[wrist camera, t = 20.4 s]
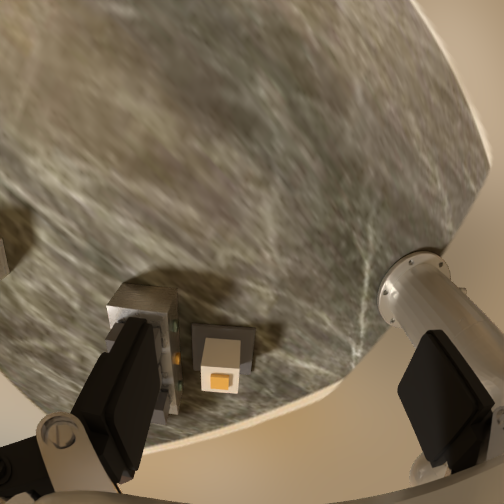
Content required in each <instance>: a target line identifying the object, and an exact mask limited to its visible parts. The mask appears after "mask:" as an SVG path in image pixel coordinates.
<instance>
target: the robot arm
mask: <svg viewBox="0 0 504 504" xmlns="http://www.w3.org/2000/svg"><path fill="white" fill-rule="evenodd" d="M466 293H467V290H466V288H458V287H457V286H456V285H455V284H454V283H453V282H451V278H450V271H449V268H448V266H447V264H446V262H445V261H444V260H443V259H442V258H441V257H439V256H438V255H437V254H435V253H432V252H428V251H420V252H415V253H412V254H409V255H407V256H405V257H403V258H402V259H400V260H399V261H398V262H396V263H395V264H394V265H393V266H392V267H391V268H390V269H389V271H388V272H387V274H386V275H385V276H384V278H383V280H382V282H381V284H380V287H379V290H378V296H377V305H378V309H379V312H380V314H381V315H382V317H383V318H384V320H385V321H386V322H387V323H388V324H390V325H392V326H394V327H397V328H403V330H404V331H405V333H406V335H407V336H408V337H409V339H410V341H411V342H412V344H413V345H414V347H415V348H416V351H415V353H414V355H413V357H412V359H411V361H410V363H409V365H408V368H407V369H406V372H405V373H404V375H403V378H402V379H401V381H400V383H399V385H398V395H399V397H400V399H401V402H402V404H403V406H404V409H405V411H406V413H407V415H408V418H409V420H410V422H411V424H412V427H413V429H414V431H415V434H416V436H417V438H418V441H419V443H420V446H421V448H422V451H423V453H421V455H419V457H418V458H417V459H416V460H415V461H414V463H413V465H412V467H411V470H410V476H409V479H410V486H411V488H407V489H403V490H399V491H395V492H391V493H387V494H382V495H378V496H373V497H368V498H362V499H357V500H350V501H344V502H337V503H329V504H504V333H503V332H502V331H501V330H500V329H499V328H498V327H497V326H496V325H495V324H494V323H493V322H492V321H491V320H490V319H489V318H488V317H487V316H486V315H485V313H484V312H483V311H482V310H481V309H479V308H478V306H477V305H476V304H474V302H473V301H471V300H470V298H469V297H467V296H466ZM159 391H160V377H159V370H158V363H157V356H156V349H155V341H154V332H153V326H152V324H149V323H148V322H147V320H146V319H145V318H137V317H128V319H127V320H126V322H125V324H124V326H123V328H122V329H121V331H120V333H119V335H118V337H117V339H116V340H115V342H114V344H113V346H112V348H111V350H110V352H109V353H106V352H104V353H102V354H101V355H100V357H99V358H98V360H97V362H96V364H95V366H94V368H93V370H92V372H91V373H90V375H89V377H88V379H87V381H86V383H85V385H84V387H83V389H82V391H81V393H80V395H79V397H78V399H77V401H76V403H75V405H74V407H73V409H72V411H71V413H68V412H54V413H51V414H49V415H46V416H45V417H44V418H43V419H42V420H41V421H40V423H39V424H38V426H37V429H36V436H33V437H30V438H27V439H24V440H21V441H18V442H15V443H12V444H9V445H6V446H3V447H0V504H187V503H179V502H172V501H165V500H158V499H153V498H146V497H139V496H133V495H128V494H123V493H122V492H121V490H120V488H119V487H118V485H117V483H119V482H120V480H121V476H126V477H131V475H132V471H133V470H135V471H137V470H138V468H139V464H140V461H141V457H142V453H143V449H144V445H145V442H146V438H147V434H148V430H149V427H150V423H151V419H152V416H153V412H154V408H155V405H156V401H157V398H158V394H159Z"/></svg>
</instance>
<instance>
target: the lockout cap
mask: <svg viewBox="0 0 504 504" xmlns="http://www.w3.org/2000/svg"><path fill="white" fill-rule="evenodd" d="M240 343H241V340H229V339H216V338H206V340H205V345H204V351H203V356H202V362H201V386H202V391H211V392H223V393H238V382H239V370H240Z"/></svg>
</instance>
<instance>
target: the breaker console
mask: <svg viewBox="0 0 504 504" xmlns="http://www.w3.org/2000/svg"><path fill="white" fill-rule="evenodd" d="M107 311H108V317H109V322H110V327H111V329H112V327H113V325H114V324H115V322H116V323H122V324H125V322H126V320H127V319H128V317H137V318H145V319H146V320H147V322H148V323H149V324H152V326H153V328H160V334H161V344H162V353H161V356H160V359H159V362H158V363H160V367H161V374H162V381H163V382H162V385H161V389H160V392H167V393H168V397H169V403H170V410H169V414H176V415H178V412H179V407H180V403H181V398H182V393H183V389H184V388H183V377H182V365H181V352H180V337H179V319H178V297H177V288H167V287H156V286H147V285H137V284H128V283H122V284H121V286H120V287H119V289H118V290H117V291H116V293H115V294H114V296H113V297H112V298H111V300H110V301H109V303H108V304H107Z"/></svg>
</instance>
